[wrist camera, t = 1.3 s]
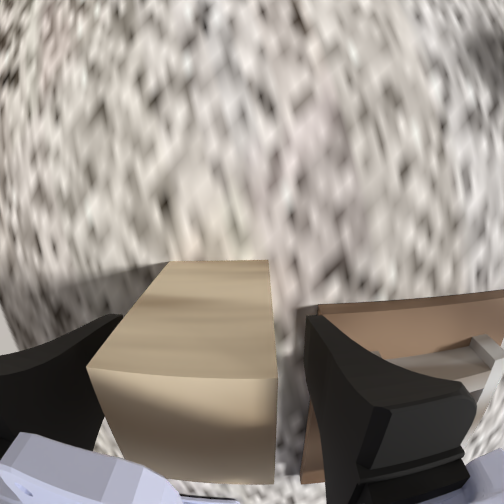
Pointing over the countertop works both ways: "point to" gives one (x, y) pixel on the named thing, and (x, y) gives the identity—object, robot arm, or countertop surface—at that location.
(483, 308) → the socket board
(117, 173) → the countertop surface
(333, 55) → the countertop surface
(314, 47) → the countertop surface
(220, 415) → the birch peg
